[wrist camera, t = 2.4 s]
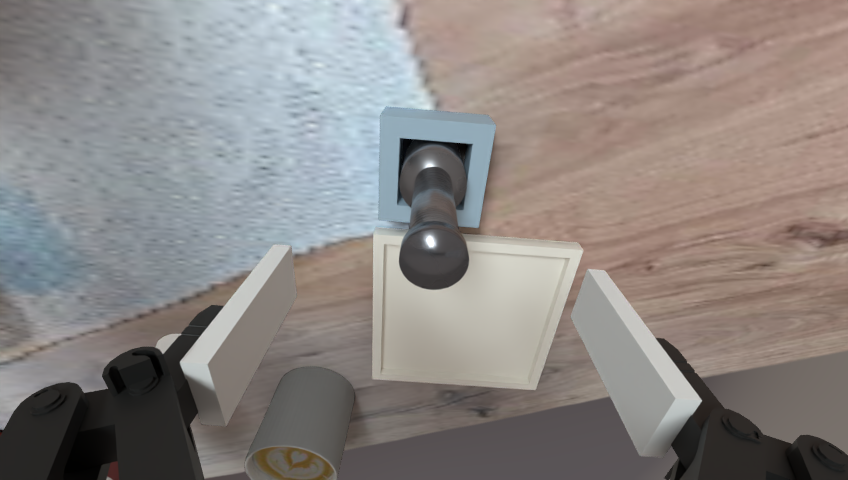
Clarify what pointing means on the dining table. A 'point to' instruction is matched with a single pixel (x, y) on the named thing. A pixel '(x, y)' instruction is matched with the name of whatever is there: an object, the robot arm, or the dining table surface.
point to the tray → (471, 313)
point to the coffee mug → (303, 428)
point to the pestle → (433, 215)
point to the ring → (434, 128)
